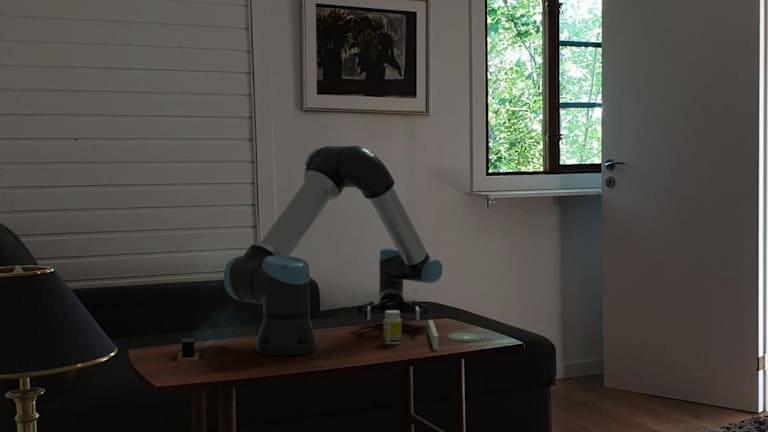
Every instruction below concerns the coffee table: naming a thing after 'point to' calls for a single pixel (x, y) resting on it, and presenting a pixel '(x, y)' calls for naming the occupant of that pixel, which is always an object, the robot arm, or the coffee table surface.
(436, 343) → the low wall
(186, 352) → the black block
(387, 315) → the supplement bottle
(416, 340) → the coffee table surface
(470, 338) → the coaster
